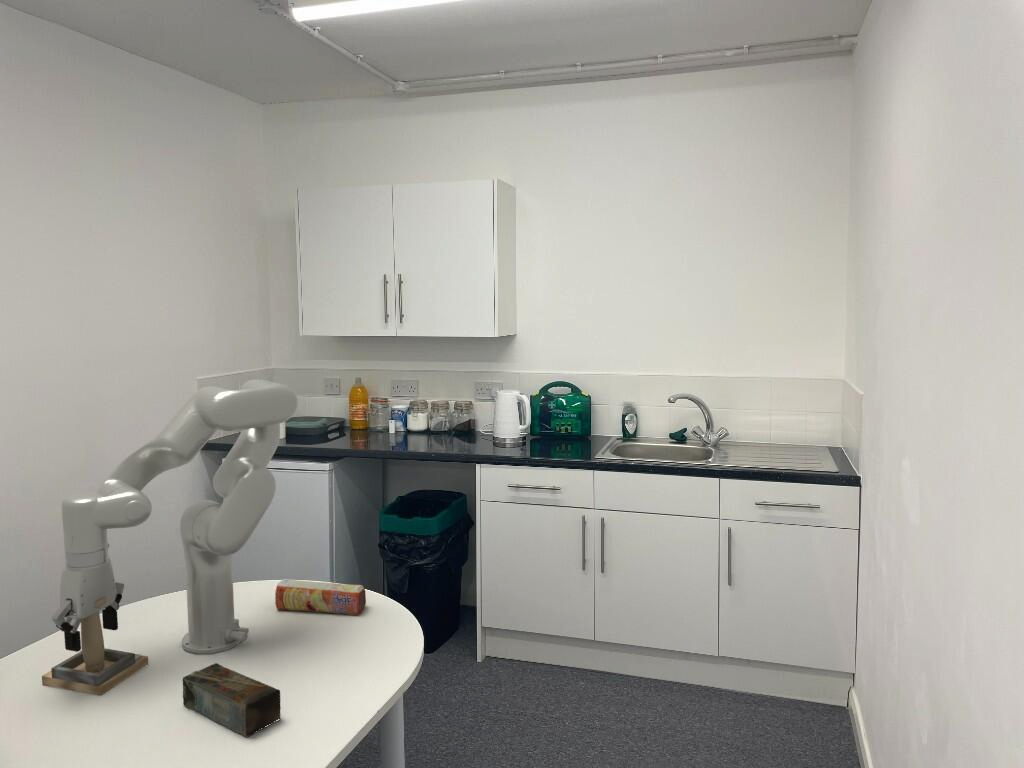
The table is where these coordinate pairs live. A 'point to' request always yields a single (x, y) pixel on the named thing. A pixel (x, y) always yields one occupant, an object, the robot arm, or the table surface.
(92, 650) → the handle
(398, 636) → the table surface
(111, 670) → the wooden tray
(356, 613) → the snack package
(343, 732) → the table surface
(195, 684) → the beverage carton
